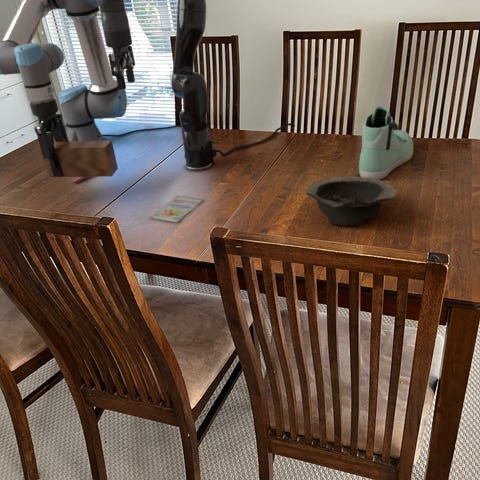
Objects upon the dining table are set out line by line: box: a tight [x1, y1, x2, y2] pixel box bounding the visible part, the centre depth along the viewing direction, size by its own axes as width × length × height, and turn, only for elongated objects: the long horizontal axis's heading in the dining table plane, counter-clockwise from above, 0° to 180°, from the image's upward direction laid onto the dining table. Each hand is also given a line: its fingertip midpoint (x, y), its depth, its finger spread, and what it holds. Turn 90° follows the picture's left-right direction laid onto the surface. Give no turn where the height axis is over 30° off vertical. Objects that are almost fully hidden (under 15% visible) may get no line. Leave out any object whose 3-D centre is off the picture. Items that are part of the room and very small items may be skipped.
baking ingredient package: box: [151, 196, 203, 223], centre depth 146 cm, size 9×1×15 cm
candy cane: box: [73, 177, 89, 184], centre depth 174 cm, size 6×15×2 cm, turn 145°
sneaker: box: [358, 105, 414, 180], centre depth 160 cm, size 14×35×20 cm, turn 152°
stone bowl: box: [304, 175, 398, 227], centre depth 135 cm, size 25×25×9 cm
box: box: [40, 139, 119, 178], centre depth 151 cm, size 21×6×10 cm, turn 83°
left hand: (63, 171), depth 154 cm, fingers closed on box, 6 cm apart
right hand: (127, 85), depth 146 cm, fingers open, 8 cm apart
